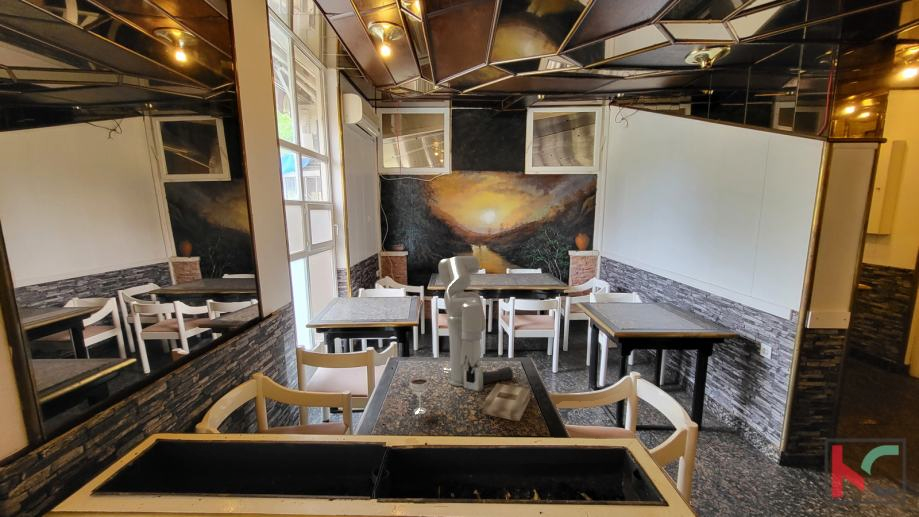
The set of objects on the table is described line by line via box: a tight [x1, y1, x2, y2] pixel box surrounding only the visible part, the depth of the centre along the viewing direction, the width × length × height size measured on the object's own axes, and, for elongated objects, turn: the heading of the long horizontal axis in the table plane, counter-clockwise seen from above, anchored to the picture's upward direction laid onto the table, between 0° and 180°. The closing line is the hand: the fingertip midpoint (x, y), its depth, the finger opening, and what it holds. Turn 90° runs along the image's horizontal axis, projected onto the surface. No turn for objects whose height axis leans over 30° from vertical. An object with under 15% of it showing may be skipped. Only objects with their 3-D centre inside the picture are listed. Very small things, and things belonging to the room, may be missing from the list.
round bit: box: [471, 367, 484, 393], centre depth 146 cm, size 5×5×9 cm
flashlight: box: [483, 366, 515, 385], centre depth 154 cm, size 15×5×5 cm, turn 111°
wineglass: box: [410, 376, 429, 415], centre depth 129 cm, size 7×7×12 cm
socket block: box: [481, 383, 531, 422], centre depth 132 cm, size 14×18×4 cm
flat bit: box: [463, 363, 482, 391], centre depth 131 cm, size 6×3×9 cm, turn 66°
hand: (472, 379), depth 131 cm, fingers closed on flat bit, 3 cm apart
